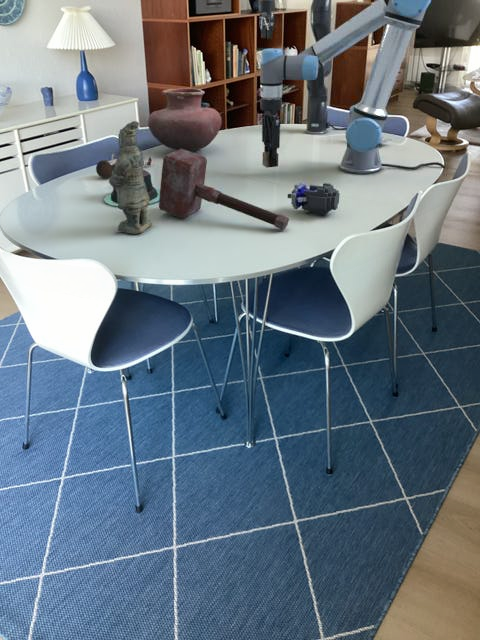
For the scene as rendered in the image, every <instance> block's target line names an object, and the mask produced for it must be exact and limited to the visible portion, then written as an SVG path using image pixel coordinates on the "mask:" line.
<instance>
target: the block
mask: <svg viewBox="0 0 480 640" xmlns="http://www.w3.org/2000/svg"><path fill="white" fill-rule="evenodd" d="M262 166H263V167H264V168H266V169H268V168H270V167H269V152H264V151H263V152H262ZM277 167H278V168H279V153H278V152H277ZM277 167H276V168H277Z"/></svg>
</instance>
